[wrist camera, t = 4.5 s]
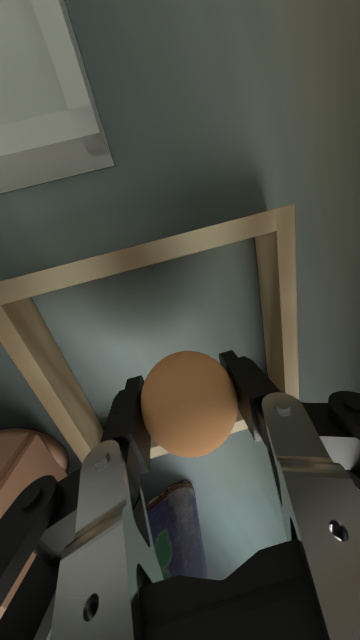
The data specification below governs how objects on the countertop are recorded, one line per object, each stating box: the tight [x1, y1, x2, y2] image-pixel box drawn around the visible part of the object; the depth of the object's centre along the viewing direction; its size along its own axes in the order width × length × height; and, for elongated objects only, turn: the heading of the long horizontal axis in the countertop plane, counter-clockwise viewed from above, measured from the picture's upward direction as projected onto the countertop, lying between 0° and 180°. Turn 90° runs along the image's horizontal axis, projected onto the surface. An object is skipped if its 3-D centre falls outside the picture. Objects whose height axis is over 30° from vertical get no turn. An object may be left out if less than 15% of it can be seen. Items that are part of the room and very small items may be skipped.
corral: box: [0, 204, 299, 463], centre depth 12 cm, size 16×14×2 cm
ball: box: [141, 351, 238, 457], centre depth 9 cm, size 4×4×4 cm
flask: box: [146, 480, 209, 579], centre depth 14 cm, size 9×3×11 cm, turn 129°
